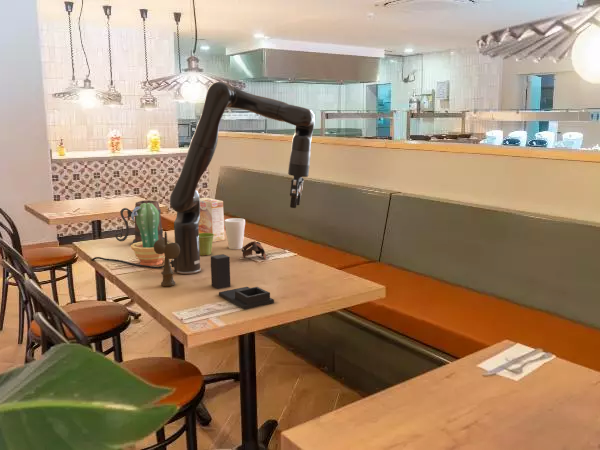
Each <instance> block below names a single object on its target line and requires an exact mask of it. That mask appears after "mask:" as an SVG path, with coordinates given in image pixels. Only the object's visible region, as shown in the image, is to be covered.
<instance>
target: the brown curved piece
mask: <svg viewBox="0 0 600 450" xmlns="http://www.w3.org/2000/svg"><path fill="white" fill-rule="evenodd" d="M241 252H242V253H241V254H242V257H243V258H244V259H245V258H246V257H247V256H249V255H250V256H253V252H255V255H260V254H261V257H263V260H266V259H267V255H266V251H265V249H264V247H263V246H262V243H260V242H259V241H256V240H254V241H250V242H248V243H247V244H245V245H243V246H242V248H241Z"/></svg>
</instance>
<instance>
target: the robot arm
mask: <svg viewBox="0 0 600 450" xmlns="http://www.w3.org/2000/svg"><path fill="white" fill-rule="evenodd" d="M227 108H230V109H240V110H245V111H248V112H252V113H254V114H256V115H259V116H261V117H264V118H267V119H270V120H274V121H278V122H281V123H282V122H283V123H286V124H289V125H292V126H295V128H294V134H293V136H292V141H291V150H290V153H289V161H288V171H287V175H289V176H292V177H293V179H291V181H290V191H289V197H290V204H289V208H291V209H296V208H297V206H300V204H301V196H302V194H303V189H304V187H303V186H304V179H305V178H308V177H309V172H310V164H311V148H312V137H313V133H314V129H315V122H316V121H315V120H316V117H315V114H314V112H313V111H312V110H311V109H309V108H307V107H303V106H302V107H301V106H299V105H294V104H289V103H287V102H284V101H281V100H277V99H274V98H271V97H266V96H261V95H256V94H253V93H250V92H247V91H245V90H242V89H240V88H238V87H235V86H233V85H232V84H230V83H228V82H226V81H225V82H224V81H215V82H213V83H211V85H210V86H208V89H207V91H206V95H205V99H204V103H203V108H202V111H201V115H200V117H199V120H198V123H197V125H196V128H195V130H194V133H193V136H192V138H191V141H190V143H189V147H188V150H187V153H186V156H185V158H184V162H183V165H182V169H181V171H180V175H179V177H178V179H177V181H176V183H175V185H174V187H173V189H172V191H171V194H170V196H169V204H170V207H171V209H172V210H173V211H174V212H176V216H175V217H176V218H175V220H174V222H173V229H174V242H175V243H177V244H178V245H179V247H180V253H179V255H178V257H176V258H174V259H170V265H171V268H173V272H174V274H175V273H176V274H179V275H194V274H197V273H200V272H201V271H202V268H201V255H200V246H199V220H200V198H201V197H200V194H199V192H198V190H197V187H198V184H199V181H200V180H201V178H202V177H203V175H204V173H206V171H207V169H208V167H209V165H210V164H211V162H212V160H213V158H214V154H215V151H216V149H217V145H218V140H219V131H220V129H219V128H220V124H221V120H222V117H223V116H224V113H225V111H226V109H227ZM95 260H101V261H110V262H117V263H122V264H127V265H130V266H135V267H140V268H147V269H164V264H163V265H161V266H156V265H154V266H147V265H141V264H140V263H139V264H138V263H134V262H129V261H126V260H121V259H114V258H106V257H101V256H94V257H93V258H92V259H91V261H92V262H94V261H95Z"/></svg>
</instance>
